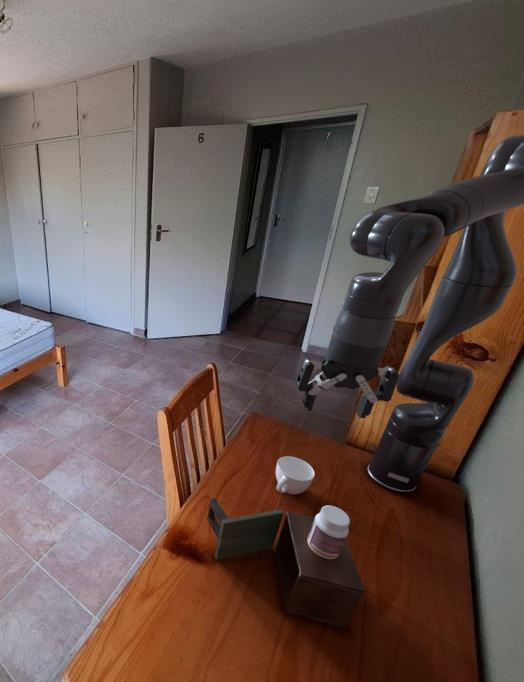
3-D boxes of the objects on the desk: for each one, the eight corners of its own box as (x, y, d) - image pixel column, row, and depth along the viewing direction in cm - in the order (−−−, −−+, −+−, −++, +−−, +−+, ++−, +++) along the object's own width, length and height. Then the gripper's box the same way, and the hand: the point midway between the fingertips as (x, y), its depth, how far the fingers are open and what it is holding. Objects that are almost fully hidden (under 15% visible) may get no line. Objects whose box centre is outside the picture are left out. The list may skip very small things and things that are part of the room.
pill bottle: (343, 562, 61) (358, 530, 58) (312, 557, 62) (325, 525, 59) (331, 536, 66) (345, 505, 62) (302, 532, 67) (314, 501, 63)
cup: (314, 490, 88) (321, 470, 85) (291, 511, 83) (298, 490, 80) (282, 470, 94) (288, 451, 91) (260, 488, 89) (265, 469, 86)
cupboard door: (200, 529, 80) (206, 494, 75) (252, 519, 82) (261, 484, 77) (216, 559, 74) (224, 523, 69) (272, 548, 76) (284, 512, 71)
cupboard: (286, 612, 65) (301, 574, 60) (274, 548, 76) (286, 511, 71) (344, 629, 63) (365, 590, 57) (324, 560, 73) (340, 522, 68)
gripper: (317, 341, 60) (295, 418, 67) (423, 350, 56) (387, 431, 63) (306, 323, 66) (287, 395, 74) (401, 329, 62) (370, 405, 69)
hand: (333, 411), depth 68 cm, fingers open, 8 cm apart
